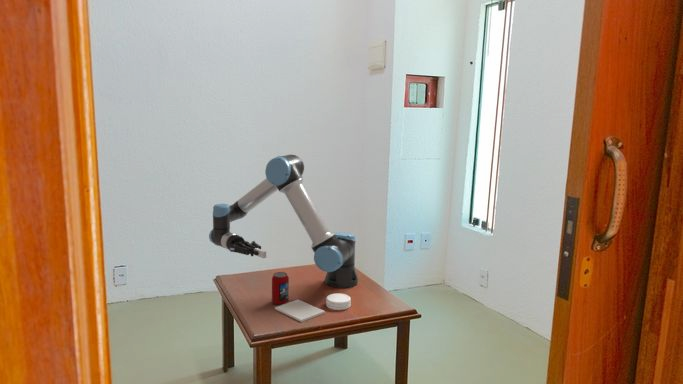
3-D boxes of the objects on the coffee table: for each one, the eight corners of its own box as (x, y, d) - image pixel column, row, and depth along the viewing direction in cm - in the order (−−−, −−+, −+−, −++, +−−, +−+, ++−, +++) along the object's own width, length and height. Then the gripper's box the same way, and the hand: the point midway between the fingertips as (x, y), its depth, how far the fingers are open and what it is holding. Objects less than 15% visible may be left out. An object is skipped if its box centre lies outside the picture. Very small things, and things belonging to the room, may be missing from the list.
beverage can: (285, 306, 194) (285, 277, 192) (269, 304, 196) (269, 276, 194) (290, 300, 201) (290, 272, 199) (275, 298, 202) (275, 270, 200)
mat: (274, 309, 191) (274, 307, 191) (298, 301, 200) (298, 299, 200) (301, 322, 180) (301, 320, 180) (324, 313, 189) (324, 311, 188)
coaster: (355, 308, 195) (355, 299, 194) (332, 312, 190) (333, 304, 189) (343, 299, 203) (343, 291, 203) (321, 303, 199) (321, 295, 198)
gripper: (245, 248, 223) (277, 260, 207) (220, 253, 214) (251, 266, 198) (245, 232, 222) (277, 243, 206) (220, 236, 213) (251, 249, 197)
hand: (264, 254), depth 202 cm, fingers closed
